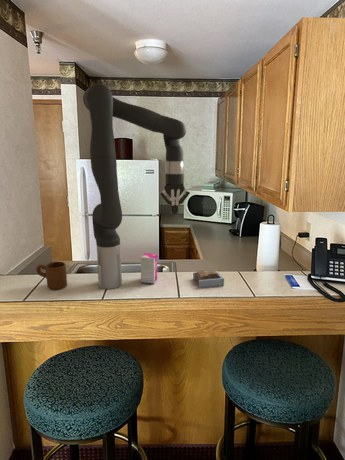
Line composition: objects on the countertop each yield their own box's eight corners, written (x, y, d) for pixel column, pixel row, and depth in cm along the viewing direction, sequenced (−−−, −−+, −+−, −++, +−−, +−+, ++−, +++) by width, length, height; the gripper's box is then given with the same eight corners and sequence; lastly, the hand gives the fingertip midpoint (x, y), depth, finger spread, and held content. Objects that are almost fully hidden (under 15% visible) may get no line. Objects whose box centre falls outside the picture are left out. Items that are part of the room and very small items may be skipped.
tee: (201, 285, 134) (201, 276, 133) (196, 280, 139) (196, 271, 138) (218, 283, 136) (218, 274, 135) (213, 278, 141) (213, 269, 140)
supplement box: (154, 284, 135) (154, 258, 132) (140, 283, 136) (139, 257, 133) (157, 279, 140) (157, 253, 137) (144, 278, 141) (143, 252, 139)
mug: (33, 289, 130) (30, 267, 128) (42, 281, 138) (40, 260, 135) (62, 291, 129) (60, 268, 127) (70, 283, 136) (68, 261, 134)
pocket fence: (199, 287, 132) (199, 280, 131) (193, 279, 140) (193, 272, 140) (223, 285, 134) (224, 278, 133) (216, 277, 142) (216, 270, 142)
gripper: (160, 173, 130) (160, 216, 134) (192, 172, 133) (191, 215, 137) (157, 171, 137) (157, 212, 142) (187, 171, 140) (187, 211, 144)
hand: (174, 213), depth 139 cm, fingers closed
